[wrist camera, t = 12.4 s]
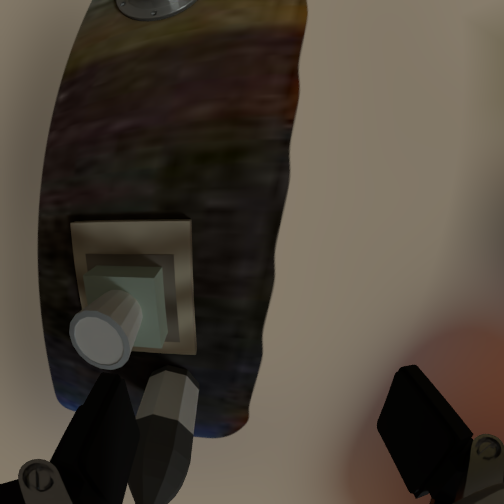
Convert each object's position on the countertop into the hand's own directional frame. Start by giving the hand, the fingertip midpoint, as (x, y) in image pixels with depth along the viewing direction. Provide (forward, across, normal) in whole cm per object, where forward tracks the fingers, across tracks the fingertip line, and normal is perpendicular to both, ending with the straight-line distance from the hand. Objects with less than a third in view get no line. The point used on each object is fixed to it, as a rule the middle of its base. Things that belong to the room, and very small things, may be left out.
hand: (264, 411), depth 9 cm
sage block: (+27, +14, +8) cm, 31 cm away
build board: (+28, +14, +7) cm, 32 cm away
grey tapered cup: (+23, +14, +8) cm, 28 cm away
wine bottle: (+28, +10, +23) cm, 38 cm away
